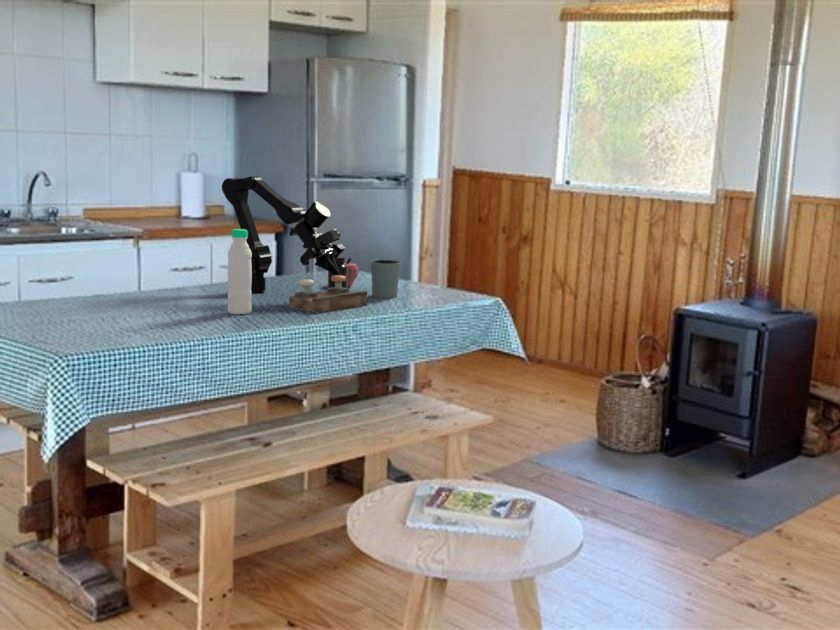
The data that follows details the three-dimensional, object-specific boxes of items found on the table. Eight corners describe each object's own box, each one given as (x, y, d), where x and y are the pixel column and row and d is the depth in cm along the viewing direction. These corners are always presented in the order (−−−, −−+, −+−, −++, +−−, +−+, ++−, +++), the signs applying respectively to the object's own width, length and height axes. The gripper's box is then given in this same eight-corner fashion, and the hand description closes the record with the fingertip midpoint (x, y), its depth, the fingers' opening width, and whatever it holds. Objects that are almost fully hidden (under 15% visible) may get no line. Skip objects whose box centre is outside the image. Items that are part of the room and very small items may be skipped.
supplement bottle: (348, 290, 341) (349, 256, 339) (345, 293, 335) (346, 258, 333) (329, 289, 342) (330, 255, 340) (325, 292, 335) (326, 257, 333)
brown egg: (330, 295, 314) (331, 277, 312) (331, 292, 318) (331, 275, 317) (345, 295, 314) (345, 277, 313) (345, 293, 318) (345, 275, 317)
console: (289, 307, 305) (289, 292, 304) (339, 300, 322) (340, 285, 321) (316, 313, 297) (316, 298, 296) (366, 305, 314) (367, 290, 313)
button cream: (298, 299, 303) (298, 281, 302) (299, 297, 308) (299, 279, 306) (313, 300, 303) (313, 281, 302) (313, 297, 308) (314, 279, 307)
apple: (333, 284, 355) (334, 256, 353) (357, 284, 356) (358, 257, 354) (334, 288, 345) (334, 260, 343) (358, 288, 346) (359, 260, 344)
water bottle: (231, 315, 289) (231, 230, 285) (224, 311, 295) (224, 228, 291) (254, 314, 292) (255, 230, 288) (247, 310, 299) (247, 228, 294)
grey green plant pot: (394, 293, 338) (395, 259, 336) (403, 298, 329) (404, 263, 327) (366, 294, 335) (367, 259, 333) (374, 299, 326) (375, 263, 323)
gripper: (308, 222, 306) (337, 260, 303) (340, 219, 322) (368, 255, 319) (287, 246, 311) (316, 283, 308) (320, 241, 328) (348, 277, 324)
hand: (338, 274), depth 315 cm, fingers closed
